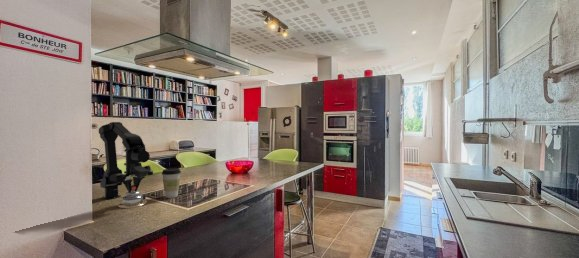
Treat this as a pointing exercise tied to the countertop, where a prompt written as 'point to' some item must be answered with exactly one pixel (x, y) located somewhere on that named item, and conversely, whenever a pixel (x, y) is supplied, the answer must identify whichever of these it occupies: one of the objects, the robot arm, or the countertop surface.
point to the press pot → (133, 201)
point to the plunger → (133, 191)
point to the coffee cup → (171, 182)
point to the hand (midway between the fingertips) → (132, 191)
